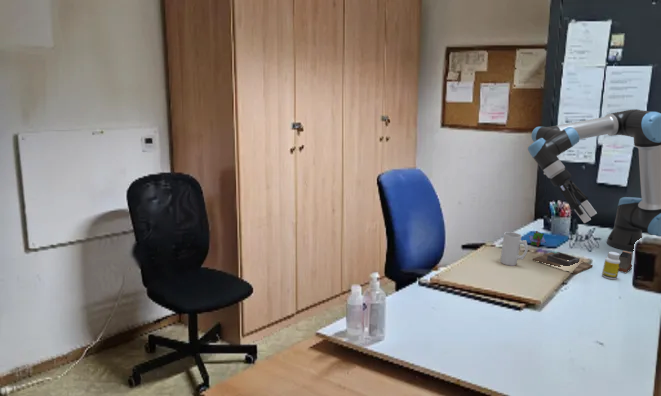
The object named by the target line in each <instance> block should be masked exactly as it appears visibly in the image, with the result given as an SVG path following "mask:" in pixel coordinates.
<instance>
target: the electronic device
mask: <svg viewBox="0 0 661 396" xmlns="http://www.w3.org/2000/svg"><path fill="white" fill-rule="evenodd" d="M618 259H619V260H620V266H619V271H623V272H627V271H628V270H629V271H630V270H631V269H632V268H631V267H633V264H632V262H633V261H632V260H633V253H632V251H628V250H623V251H621V253H620V256H619V258H618ZM630 268H631V269H630ZM619 271H618V272H619ZM629 271H628V272H629ZM623 272H622V273H623ZM628 272H627V273H628Z"/></svg>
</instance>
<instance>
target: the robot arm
mask: <svg viewBox="0 0 661 396" xmlns="http://www.w3.org/2000/svg"><path fill="white" fill-rule="evenodd" d="M605 135H607V136H611V137H612V136H624V137H625V136H626V137H630V138H633V145H634V147H635V148H637V149H638V160H639V161H638V162H639V179H640V195H641V197H631V196H628V197H627V196H624V197H621V198H619V201H618V204H617V207H616V208H617V210H616V214H615V215H616V216H615V220H614V226H613V228H612V230H611V232H610V233H609V235H608V236H607V239H606V244H607V245H608V246H611V247H613V248H615V249H620V250H623V251H629V250H630V251H629V252H632V251H631V250H633V249H634V244H635V242H636V241H637V240H639V239H640V238H642V237H643V231H644V232H646V233H647V234H650V235H654V236H657V237H661V113H660V112H658V111H650V110H649V111H648V110H641V109H628V110H622V111H617V112H611V113H607V114H606V115H605V116H603V117H597V118H592V119H586V120H580V121H573V122H569V123H562V124H559V125H553V126H536V127H535V128H534V129H533V130H532V132H531V140H532V141H533V142H532V143H531V144H530V145H529V146H528V148H527V150H528V152H529V154H530V156H531V157H532V159H534V161H535V162H536V164H537V165H538V166H539V167H540V169H541V170H542V171H543V175H545V176H546V178H548V179H550V180H549V181H550V182H551V184H552V185H553V187H558V186H559V187H558V189H559V191H560V192H561V194H562V196H563V197H564V199H565V201H566V203H567V204H568V207H569V209H570V211H574V212H575V213H576V214H577V216H578V217H579V218H580V220H581V221H582V222H583V224H586V223H588V222H589V221H591V220H592V219H591V217H594V216H595V215H597V214H598V213H597V210H596V209H594V207H593V206H592V204H591V203H590V202H589V197H588V196H587V195H586V194H585V193H583V192H582V190H581V189H580V188H579V187H578V186H577V185H576V184H575V183H574V181H573V180H571V177H572V174H571V173H570V171H568V169H566V166H565V165H564V163H563V162H562V161H561V159H559V157H558V156H560V155H561V154H563V153H564V152H566V151H568V150H569V149H571V148H573V147H574V146H575V145H577V144H578V143H579V142H580V140H584V139H588V138H593V137H599V136H605ZM578 201H579V202H580V203H579V202H578Z"/></svg>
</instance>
